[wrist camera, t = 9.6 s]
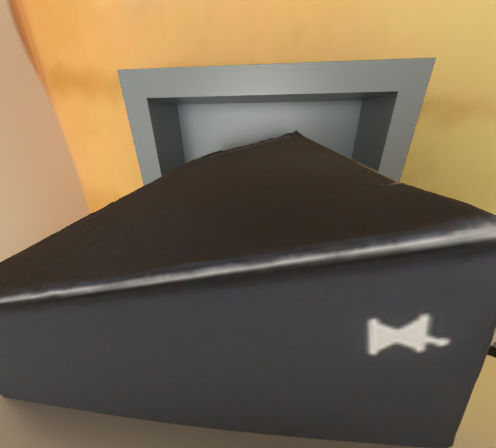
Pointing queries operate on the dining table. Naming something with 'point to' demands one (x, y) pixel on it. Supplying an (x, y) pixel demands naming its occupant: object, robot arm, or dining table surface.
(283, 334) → the small box
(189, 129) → the crate
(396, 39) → the dining table surface
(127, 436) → the robot arm
